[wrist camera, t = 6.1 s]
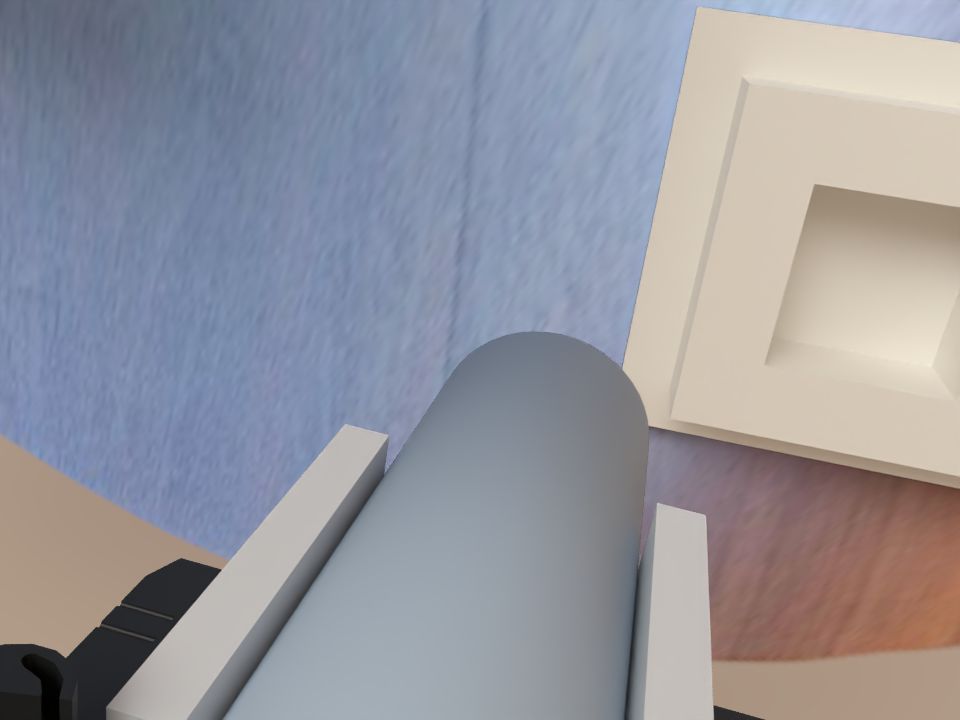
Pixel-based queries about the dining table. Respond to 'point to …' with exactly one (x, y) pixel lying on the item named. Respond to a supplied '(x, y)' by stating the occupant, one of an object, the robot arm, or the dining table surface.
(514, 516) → the peg
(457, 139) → the dining table surface
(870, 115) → the socket
